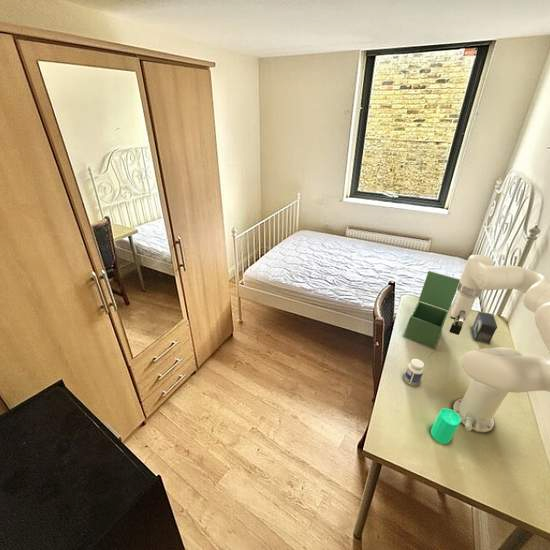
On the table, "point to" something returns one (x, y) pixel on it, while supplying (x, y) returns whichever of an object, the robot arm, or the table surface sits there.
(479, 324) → the small box
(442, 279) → the lid
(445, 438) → the candle
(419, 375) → the pill bottle
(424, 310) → the chest
